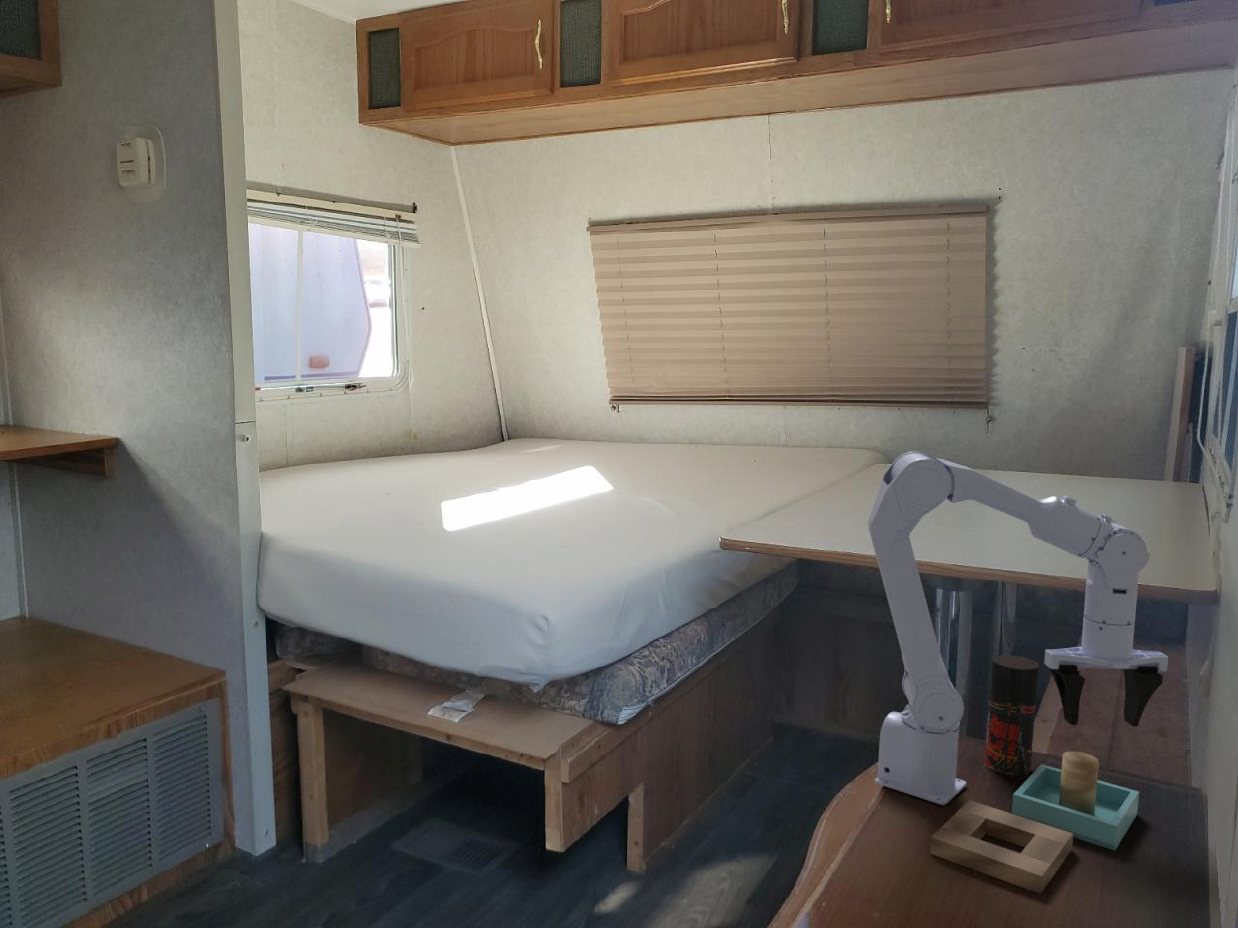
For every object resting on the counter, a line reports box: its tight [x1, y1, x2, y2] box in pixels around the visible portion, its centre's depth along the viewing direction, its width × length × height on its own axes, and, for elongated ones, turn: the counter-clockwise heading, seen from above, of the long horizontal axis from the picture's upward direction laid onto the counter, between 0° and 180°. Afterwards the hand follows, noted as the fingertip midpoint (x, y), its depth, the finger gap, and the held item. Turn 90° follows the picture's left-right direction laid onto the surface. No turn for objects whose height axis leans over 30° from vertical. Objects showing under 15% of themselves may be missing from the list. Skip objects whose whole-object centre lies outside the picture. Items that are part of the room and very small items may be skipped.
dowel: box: [1059, 750, 1100, 816], centre depth 116 cm, size 4×4×7 cm
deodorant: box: [984, 654, 1040, 777], centre depth 130 cm, size 6×6×15 cm
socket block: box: [929, 800, 1074, 895], centre depth 108 cm, size 12×12×2 cm
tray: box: [1011, 763, 1140, 852], centre depth 117 cm, size 12×12×3 cm
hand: (1100, 722), depth 120 cm, fingers open, 7 cm apart
